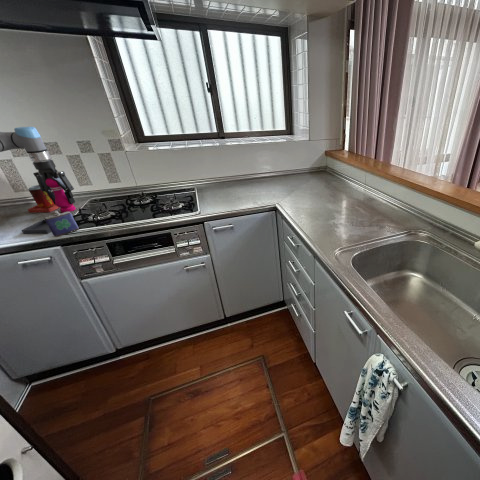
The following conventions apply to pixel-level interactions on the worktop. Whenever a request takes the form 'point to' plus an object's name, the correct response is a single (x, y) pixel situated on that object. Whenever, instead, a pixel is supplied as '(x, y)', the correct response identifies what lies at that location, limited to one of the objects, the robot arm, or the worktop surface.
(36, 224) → the charcoal tray
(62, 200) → the pepper mill
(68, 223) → the flask
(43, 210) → the red tray
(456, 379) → the worktop surface
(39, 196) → the soda can
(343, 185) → the worktop surface
